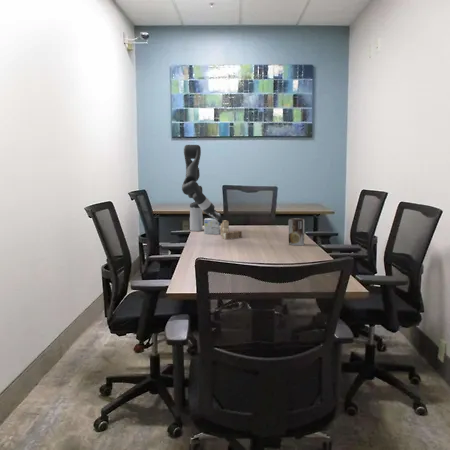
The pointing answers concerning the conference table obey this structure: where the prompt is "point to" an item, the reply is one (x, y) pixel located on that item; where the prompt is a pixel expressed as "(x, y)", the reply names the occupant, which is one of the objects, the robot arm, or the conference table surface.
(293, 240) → the coffee box
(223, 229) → the maple block
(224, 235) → the walnut block
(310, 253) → the conference table surface
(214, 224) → the light bulb box
